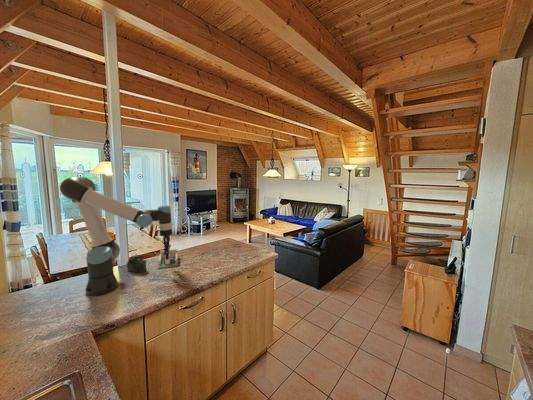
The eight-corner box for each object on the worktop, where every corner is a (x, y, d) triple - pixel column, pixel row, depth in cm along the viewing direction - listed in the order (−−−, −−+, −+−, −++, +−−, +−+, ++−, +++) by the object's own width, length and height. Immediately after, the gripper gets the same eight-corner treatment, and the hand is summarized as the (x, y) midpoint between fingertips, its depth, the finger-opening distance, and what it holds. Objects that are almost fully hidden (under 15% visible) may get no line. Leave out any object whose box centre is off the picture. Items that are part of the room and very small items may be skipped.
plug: (163, 264, 167) (163, 257, 166) (164, 261, 172) (164, 254, 172) (174, 263, 169) (173, 256, 168) (174, 260, 175) (174, 253, 174)
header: (178, 266, 166) (177, 257, 166) (157, 268, 162) (157, 259, 161) (177, 256, 185) (177, 248, 184) (159, 258, 180) (159, 250, 179)
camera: (150, 267, 164) (149, 254, 162) (141, 273, 154) (140, 259, 153) (133, 266, 166) (132, 253, 164) (122, 272, 156) (121, 258, 155)
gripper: (171, 233, 144) (173, 266, 147) (172, 224, 167) (174, 253, 170) (158, 234, 141) (160, 268, 144) (160, 225, 164) (162, 254, 167)
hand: (168, 260), depth 157 cm, fingers open, 13 cm apart
